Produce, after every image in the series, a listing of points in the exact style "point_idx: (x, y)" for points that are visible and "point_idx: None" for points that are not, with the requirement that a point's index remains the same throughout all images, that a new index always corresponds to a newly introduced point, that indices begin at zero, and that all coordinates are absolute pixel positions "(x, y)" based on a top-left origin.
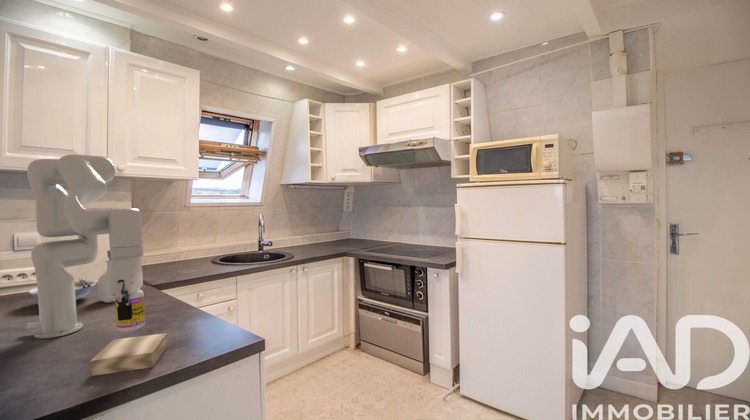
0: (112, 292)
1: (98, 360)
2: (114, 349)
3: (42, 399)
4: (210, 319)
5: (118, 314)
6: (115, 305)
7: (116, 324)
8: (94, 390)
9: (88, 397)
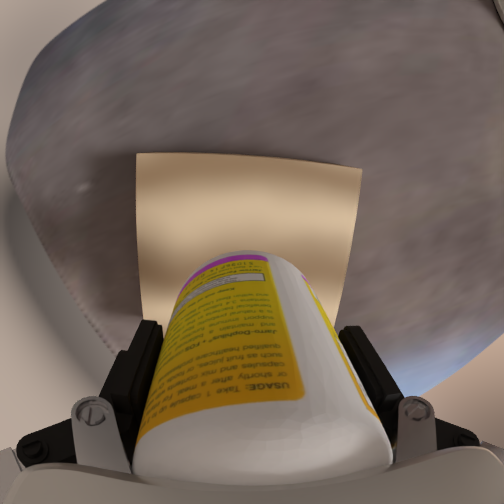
0: (12, 497)
1: (137, 180)
2: (228, 207)
3: (60, 90)
4: (447, 372)
5: (131, 348)
6: (208, 353)
7: (211, 268)
8: (62, 205)
9: (36, 206)
